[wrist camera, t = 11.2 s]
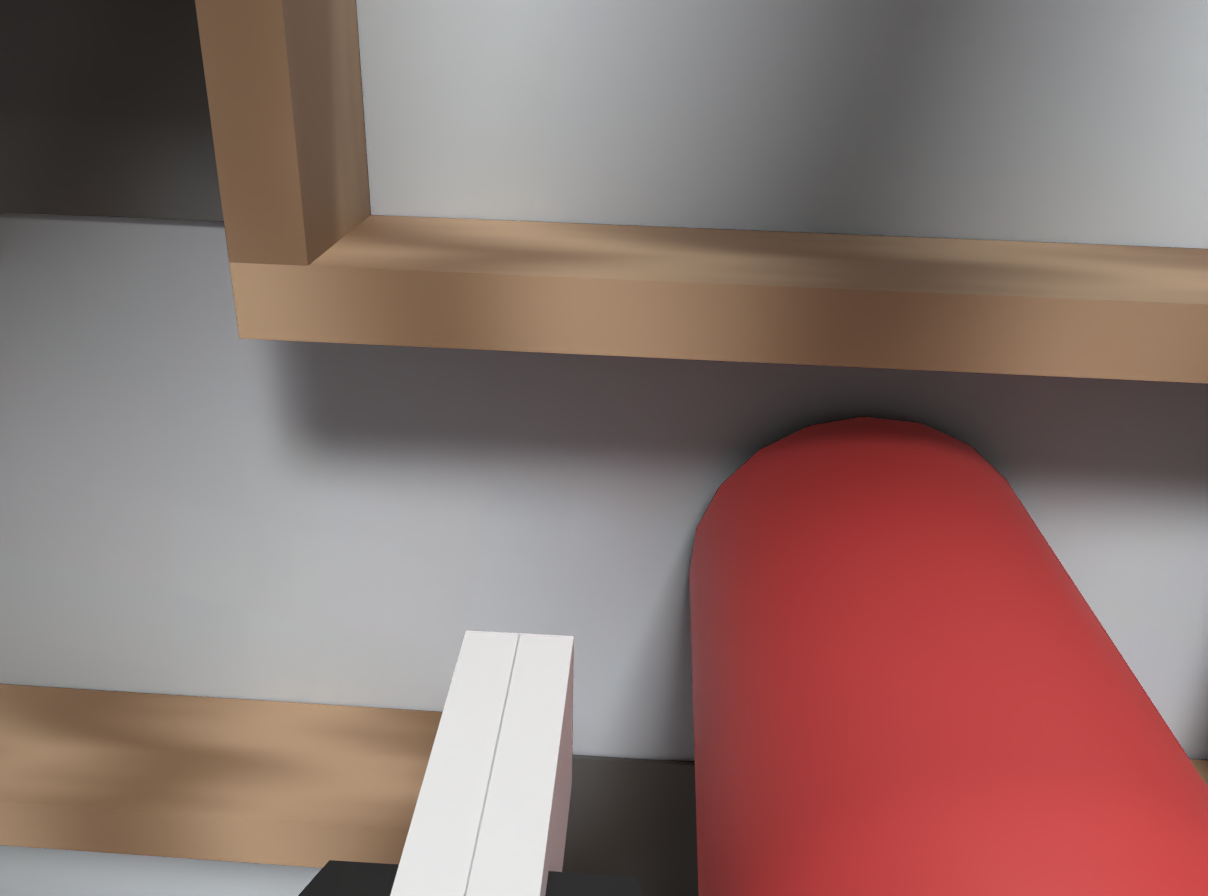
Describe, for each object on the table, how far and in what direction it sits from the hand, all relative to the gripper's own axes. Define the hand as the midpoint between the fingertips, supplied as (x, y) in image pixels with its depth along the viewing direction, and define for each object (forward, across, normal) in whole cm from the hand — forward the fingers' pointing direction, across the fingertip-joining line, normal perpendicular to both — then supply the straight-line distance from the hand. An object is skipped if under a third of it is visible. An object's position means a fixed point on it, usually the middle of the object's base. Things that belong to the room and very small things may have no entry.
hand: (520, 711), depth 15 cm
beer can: (+7, +6, -1) cm, 9 cm away
